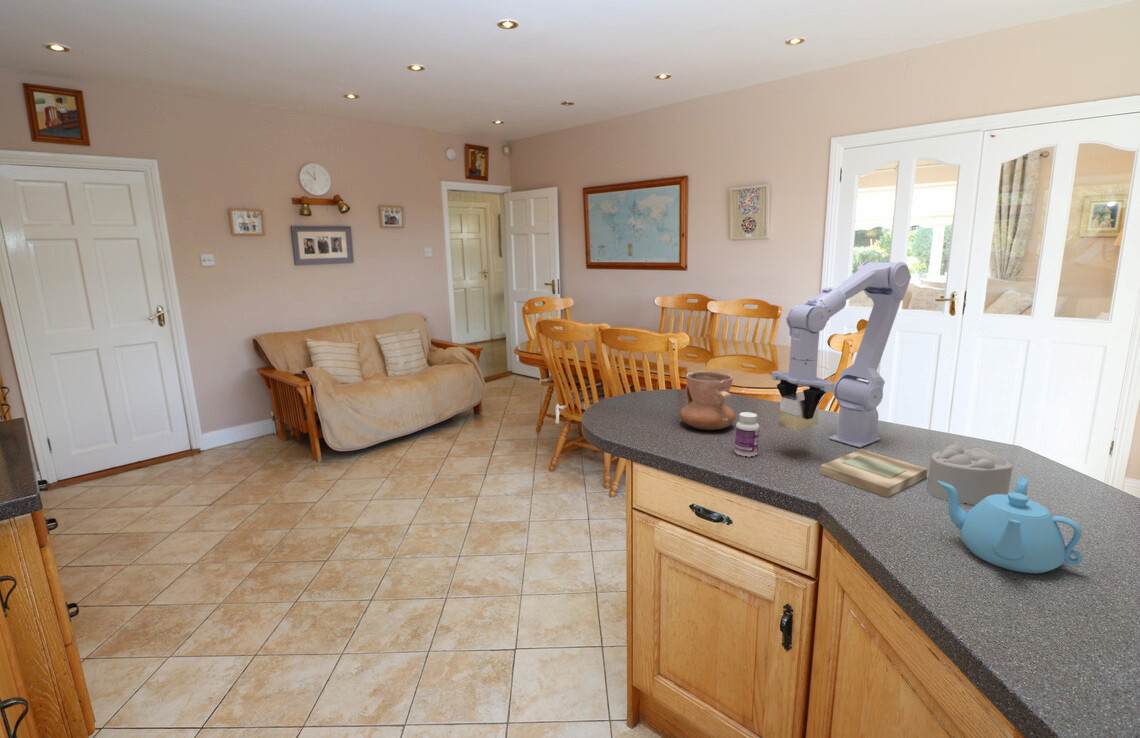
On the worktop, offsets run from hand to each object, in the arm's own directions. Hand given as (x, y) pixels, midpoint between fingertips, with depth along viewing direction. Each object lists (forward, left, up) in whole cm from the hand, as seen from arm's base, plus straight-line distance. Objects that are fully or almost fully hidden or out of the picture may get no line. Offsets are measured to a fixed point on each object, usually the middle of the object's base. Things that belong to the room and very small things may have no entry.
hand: (798, 415), depth 127 cm
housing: (0, 0, -2) cm, 2 cm away
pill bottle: (+9, -7, -10) cm, 15 cm away
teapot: (+11, +44, -10) cm, 46 cm away
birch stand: (-2, +17, -9) cm, 19 cm away
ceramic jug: (+1, -27, -10) cm, 29 cm away
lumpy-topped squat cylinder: (-8, +31, -10) cm, 34 cm away
